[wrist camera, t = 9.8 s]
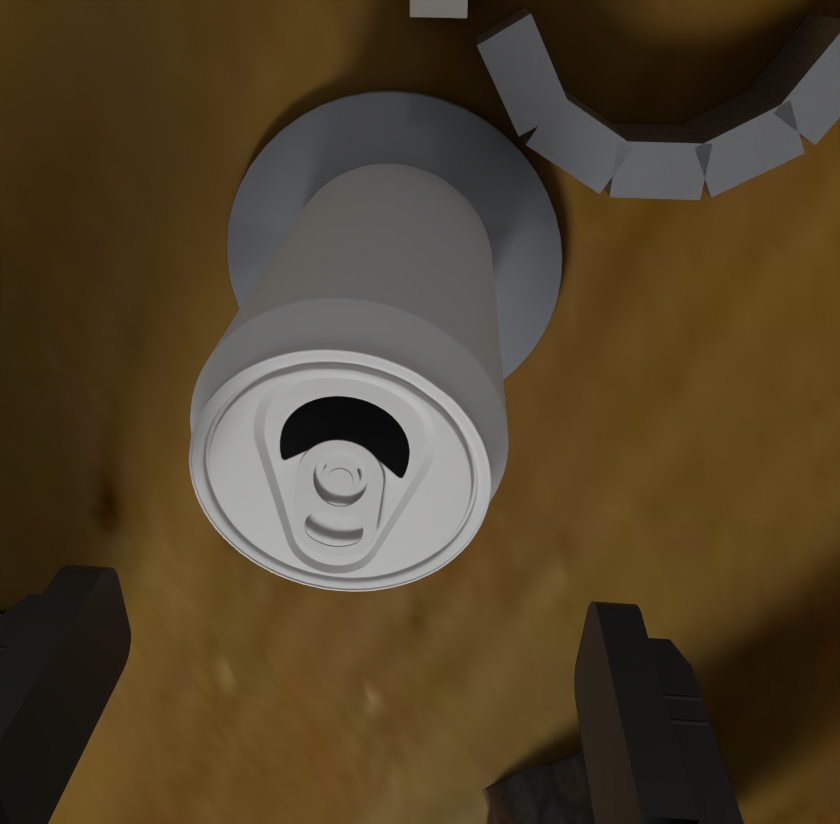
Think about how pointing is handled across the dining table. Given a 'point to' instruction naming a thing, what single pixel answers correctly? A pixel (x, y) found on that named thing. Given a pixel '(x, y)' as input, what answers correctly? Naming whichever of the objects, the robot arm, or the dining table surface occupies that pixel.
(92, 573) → the robot arm
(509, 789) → the stone
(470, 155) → the coaster
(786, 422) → the dining table surface
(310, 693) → the dining table surface
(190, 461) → the beverage can
